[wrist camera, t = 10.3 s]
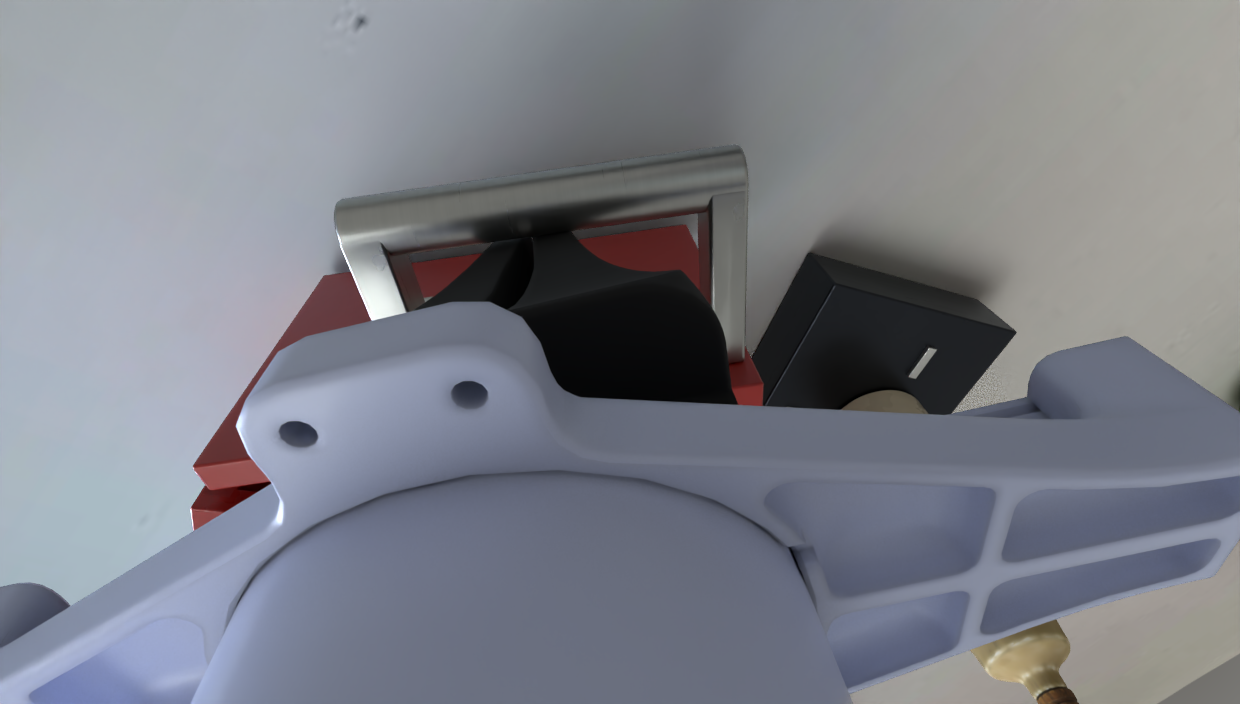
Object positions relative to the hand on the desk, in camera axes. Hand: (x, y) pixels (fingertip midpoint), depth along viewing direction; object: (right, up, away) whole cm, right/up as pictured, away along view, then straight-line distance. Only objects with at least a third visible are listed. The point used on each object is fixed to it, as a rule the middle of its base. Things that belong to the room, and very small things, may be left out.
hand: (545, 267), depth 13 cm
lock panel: (+11, -3, +12) cm, 17 cm away
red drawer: (-2, +3, +5) cm, 7 cm away
